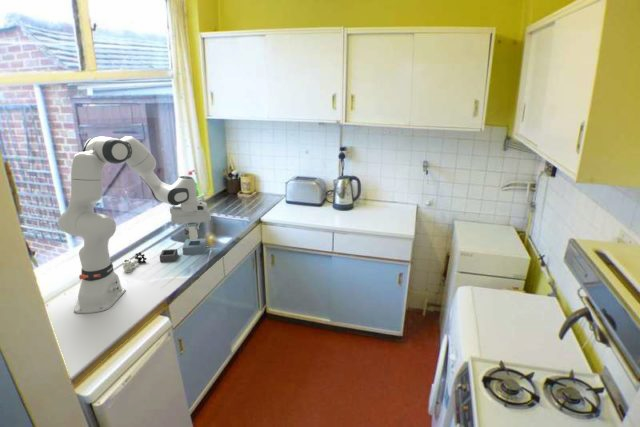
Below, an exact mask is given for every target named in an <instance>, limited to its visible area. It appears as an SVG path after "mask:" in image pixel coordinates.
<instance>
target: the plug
mask: <svg viewBox="0 0 640 427" xmlns="http://www.w3.org/2000/svg"><path fill="white" fill-rule="evenodd" d="M187 226H188V229H189V230H188V235H189V239H190V240H194V239H198V237H199V235H198V230H196V226H197V222H196V223H187Z"/></svg>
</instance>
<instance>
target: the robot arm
mask: <svg viewBox="0 0 640 427" xmlns="http://www.w3.org/2000/svg"><path fill="white" fill-rule="evenodd" d="M82 148H83V149H82V150H81V152H77V153H76V154H75V155H74V156H73V159H72V163H71V170H70V172H71V173H70V183H71V184H70V186H71V188H70V189H71V190H70V200H69V204H68V206H67V208H66V210H65V211H64V212H62V214H61V215H60V216H59V218H58V222H57V223H58V227H59V229H60V230H61V231H63V232H64V233H66V234H68V235H70V236H74V237H81V238H82V239H83V246H82V247H81V248H80V250H78V251H79V252H78V257H79V260H80V265H81V271H80V273H81V274H79V278H78V279H79V280H81V282H80V287H79V291H78V295H77V300H76V303H75V306H74V309H73V312H74V313H77V314H92V313H99V312H103V311H107V310H109V309H111V307H112V306H113V305H114V304H115V303H116V302H117V301H118V300H119V298H121V297H122V295H123V294H125V292H126V288H124V287H122V284H121V280H120V277H119V275H118V274H117V273H116V272H115V271H114V264H113V262H112V260H111V258H110V257H111V256H110V253H109V252H110V250H109V241H110V239H111V238H112V237H113V236H114V235H115V233H116V230H117V223H116V221H115V219H113V218H112V217H111V216H108V215H106V214H104V213H99V212H94V208H95V205H96V204H97V202H99V201H101V199H102V197H103V173H102V171H103V168H104V166H105V164H114V165H116V164H117V165H118V164H122V163H124V162H125V163H126V165H128V167H130V169H131V170H132V171H134V172H135V173H136V174H137V175H138V176H139V177H140V178H141V179H142V181H143V182H144V183H145V184H146V186H148V188H149V189H150V191H151V192H150V193H151V195H152V197H153V198H154V200H156V201H157V202H161V203H164V204H168V205H171V206H172V207H170V209H169V212H170V216H171V217H170V219H171V221H170V222H171V223H172V224H173V225H174V224H175V225H177V224H178V225H179V224H183V227H185V229H186V231H189V229H188V223H196V230H197V231H198V230H200V225H201V223H209V222H210V221H211V220H212V217H211V216H212V215H211V210H210V209H209V207H208V203H207V202H205V201H201V200H198V199H199V198H198V196H197V193H198V191H197V184H196V181H195V178H193V177H191V176H186V175H181V176H179V177H178V178H177V180H176V181H175V182H174V183H172V184H169V183H167V182H164V181H162V180H161V179H160V178H159V177H158V175H157V174H156V173H155V172H154V170H155V169H156V166H157V160H156V158H155V157H154V155H153V154H152V153H151V152H150V150H149V149H148V148H147V147H146V146H145V145H144V144H143V143H142V142H141V141H140V140H138V139H137V138H135V137H133V136H131V135H129V136H123V137H122V138H117V137H110V136H93V137H90V138H88V139H87V140H86V142H85V143H84V146H83V147H82Z"/></svg>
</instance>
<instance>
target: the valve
mask: <svg viewBox="0 0 640 427" xmlns="http://www.w3.org/2000/svg"><path fill="white" fill-rule="evenodd" d="M134 255H135V256H134V260H131V259H129V258H128V259H124V260H122V268H123V271H124V273H127V274H128V273H131V272H133V271H134V270H133V267H135V266H136V264H141V263H143V264H146V263H147V262H146V261H147V259H148V258H147V257H146V256H145V253H143V254H142V252H138V253H135V254H134Z"/></svg>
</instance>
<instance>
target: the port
mask: <svg viewBox="0 0 640 427" xmlns="http://www.w3.org/2000/svg"><path fill="white" fill-rule="evenodd" d="M207 245H208V244H207V238H206V237H204V238H197V239H194V240H190V238H189V239H188V238H187V239H185V241H184V243H183V246H182V247H181V248H182V255H183V256H185V255H199V254H201V255H202V254H205V253H206V248H207Z"/></svg>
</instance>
